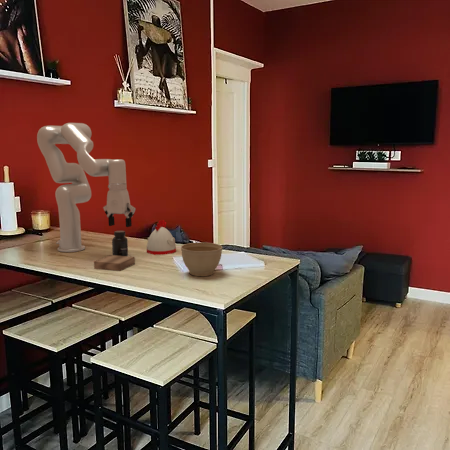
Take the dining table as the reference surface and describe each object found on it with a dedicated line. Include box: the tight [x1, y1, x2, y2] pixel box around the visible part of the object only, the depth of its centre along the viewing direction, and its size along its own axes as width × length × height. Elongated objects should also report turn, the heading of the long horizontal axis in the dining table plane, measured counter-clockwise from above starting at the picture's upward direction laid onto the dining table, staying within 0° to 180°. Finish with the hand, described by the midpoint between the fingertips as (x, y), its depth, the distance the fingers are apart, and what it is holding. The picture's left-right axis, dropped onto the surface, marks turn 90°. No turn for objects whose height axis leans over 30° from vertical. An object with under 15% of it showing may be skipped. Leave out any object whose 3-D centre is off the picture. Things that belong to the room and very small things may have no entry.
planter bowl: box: [180, 242, 223, 277], centre depth 181 cm, size 16×16×11 cm
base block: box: [93, 254, 136, 272], centre depth 193 cm, size 12×12×3 cm
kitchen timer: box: [146, 219, 177, 256], centre depth 220 cm, size 14×14×15 cm
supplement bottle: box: [111, 230, 129, 256], centre depth 207 cm, size 7×7×12 cm
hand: (120, 226), depth 206 cm, fingers open, 9 cm apart
